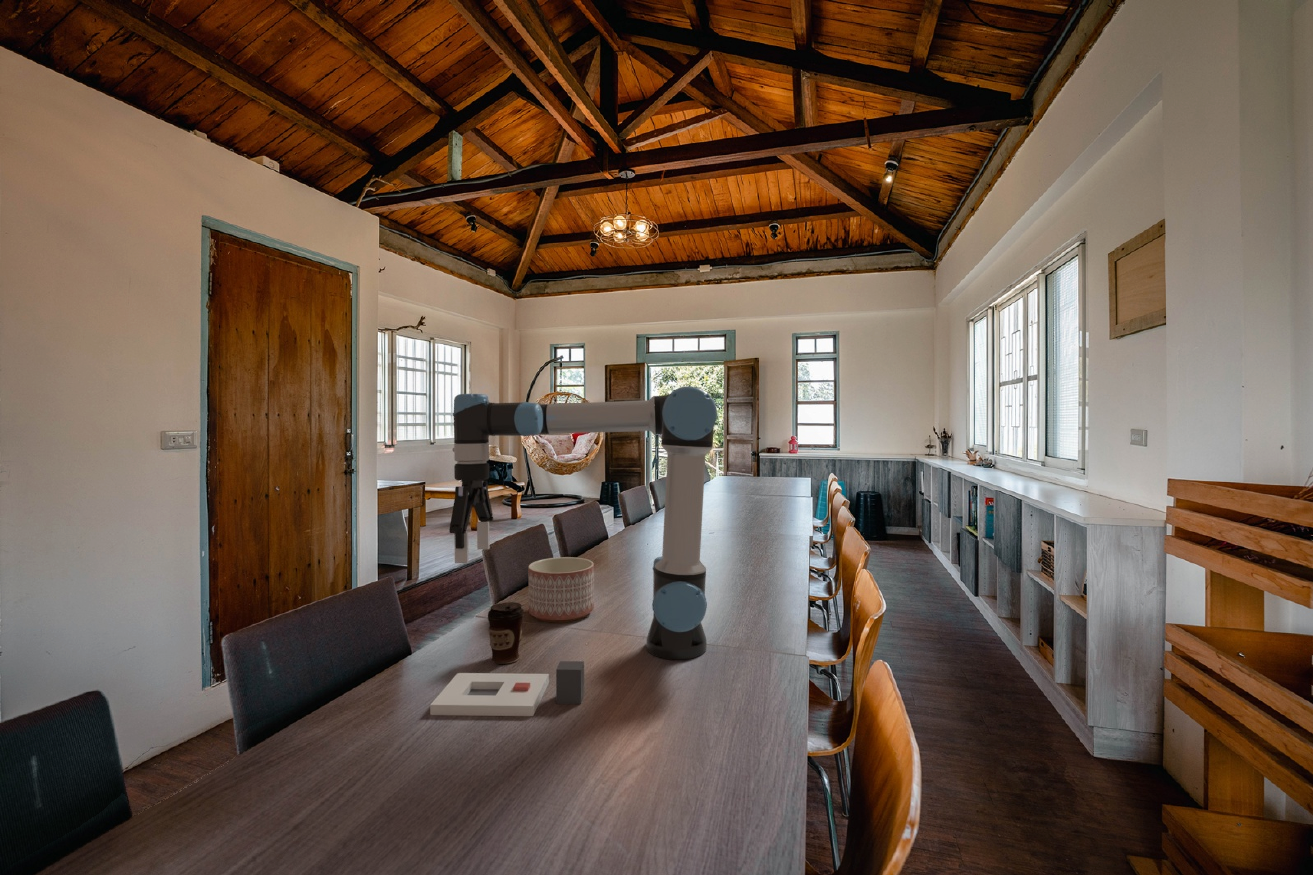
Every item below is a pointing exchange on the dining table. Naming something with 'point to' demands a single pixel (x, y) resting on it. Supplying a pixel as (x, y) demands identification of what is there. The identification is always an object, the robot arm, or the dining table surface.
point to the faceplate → (491, 694)
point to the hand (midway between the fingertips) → (473, 555)
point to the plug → (570, 682)
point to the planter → (561, 589)
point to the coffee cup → (505, 631)
